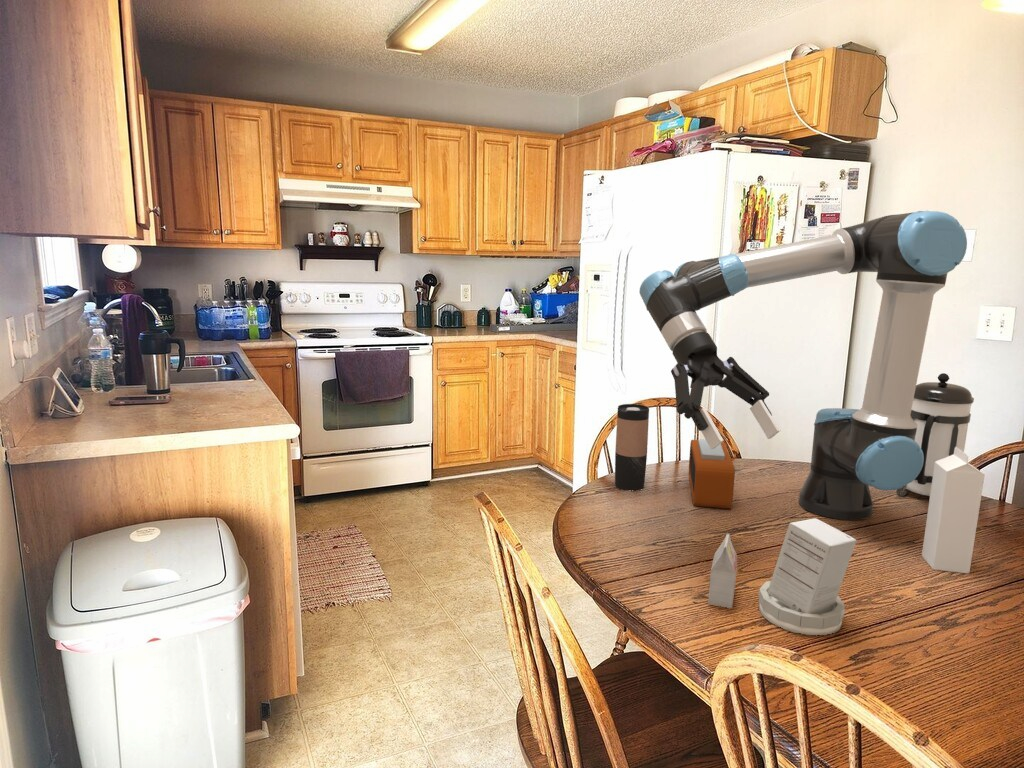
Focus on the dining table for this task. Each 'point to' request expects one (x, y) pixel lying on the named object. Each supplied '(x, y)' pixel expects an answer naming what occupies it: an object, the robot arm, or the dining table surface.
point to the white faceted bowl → (800, 615)
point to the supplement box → (811, 566)
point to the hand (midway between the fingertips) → (746, 440)
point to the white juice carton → (723, 575)
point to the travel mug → (631, 446)
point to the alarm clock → (711, 475)
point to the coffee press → (938, 426)
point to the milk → (952, 514)
